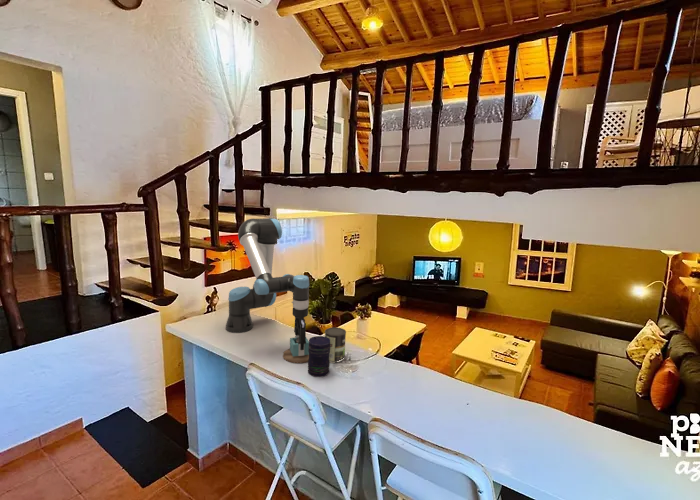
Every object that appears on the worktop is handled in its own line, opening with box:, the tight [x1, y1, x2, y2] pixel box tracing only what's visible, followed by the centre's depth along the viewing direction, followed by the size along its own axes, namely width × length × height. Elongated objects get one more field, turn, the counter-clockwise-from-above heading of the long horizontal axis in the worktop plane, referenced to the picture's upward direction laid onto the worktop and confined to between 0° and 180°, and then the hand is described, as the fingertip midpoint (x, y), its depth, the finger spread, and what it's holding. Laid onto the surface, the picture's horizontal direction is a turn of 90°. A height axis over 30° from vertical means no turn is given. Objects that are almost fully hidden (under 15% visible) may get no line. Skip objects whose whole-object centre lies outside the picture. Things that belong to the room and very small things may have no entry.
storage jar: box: [307, 335, 330, 378], centre depth 160 cm, size 10×10×15 cm
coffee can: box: [324, 327, 347, 364], centre depth 173 cm, size 10×10×14 cm
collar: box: [289, 337, 309, 356], centre depth 175 cm, size 8×8×6 cm
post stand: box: [282, 337, 309, 364], centre depth 175 cm, size 16×16×9 cm
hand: (299, 351), depth 175 cm, fingers closed on collar, 8 cm apart
